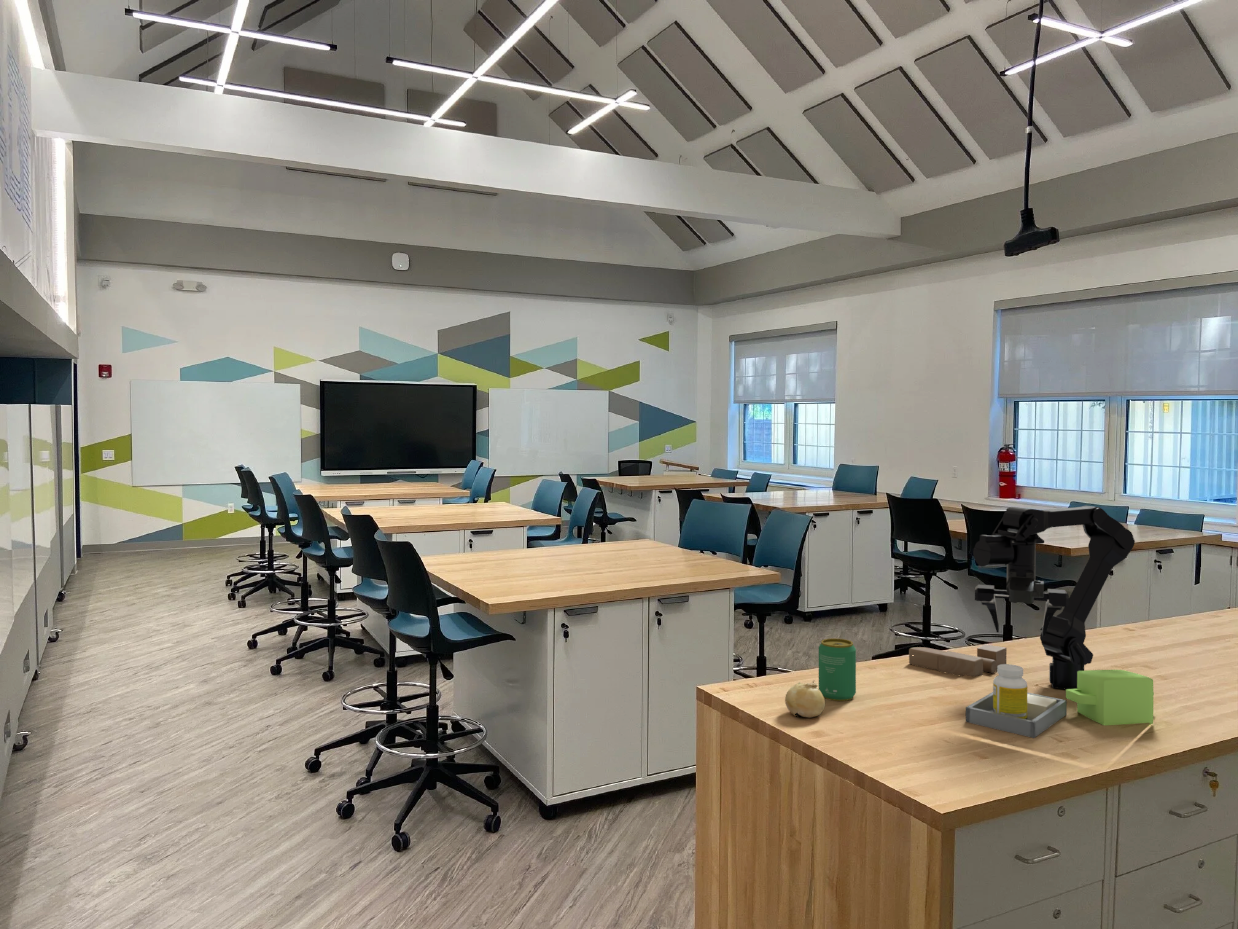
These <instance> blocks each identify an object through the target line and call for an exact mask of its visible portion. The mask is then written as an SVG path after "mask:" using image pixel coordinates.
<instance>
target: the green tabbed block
mask: <svg viewBox="0 0 1238 929" xmlns="http://www.w3.org/2000/svg"><path fill="white" fill-rule="evenodd" d="M1065 699H1067V700H1069V701H1072V702H1074V703H1076V706H1077V707H1076V708H1077V711H1076V712H1077V713H1079V714H1080V715H1082V716H1084V717H1086V718H1088V719H1089V720H1092V721H1093V722H1096V723H1098V724H1100V725H1102V726H1117V725H1119V726H1120V725H1134V724H1136V725H1137V724H1149V725H1153V724H1154V679H1153V678H1151V677H1150V676H1147V675H1143V674H1139V673H1136V672H1133V671H1129V670H1125V669H1090V670H1089V669H1088V670H1084V671H1078V672H1077V689H1065Z"/></svg>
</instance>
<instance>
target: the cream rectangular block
mask: <svg viewBox="0 0 1238 929" xmlns="http://www.w3.org/2000/svg"><path fill="white" fill-rule="evenodd" d="M1055 704H1057V700H1055V699H1050V698H1046V697H1041V696H1036V695H1031V694H1027V718H1031V719H1035V718H1036V717H1038V716H1039V715H1040V714H1042V713H1043V712H1045V711H1046V710H1048V709H1049V708H1051V707H1052V706H1054V705H1055Z"/></svg>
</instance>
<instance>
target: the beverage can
mask: <svg viewBox="0 0 1238 929" xmlns="http://www.w3.org/2000/svg"><path fill="white" fill-rule="evenodd" d="M820 642H821V643H820V644H819V646H818V689H819V690H820V692H821V693H822V695H823V697H824V699H825V698H826V699H825V700H828V699H830V700H829V701H837V702H846V701H847V702H848V701H850V700H853V699H854V698H855V695H856V694H857V685H856V684H857V648H856V647H855V645H854V642H853V641H852V640H849V639H845V638H825V639H822V640H821V641H820ZM853 697H854V698H853Z"/></svg>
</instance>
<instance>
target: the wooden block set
mask: <svg viewBox="0 0 1238 929" xmlns="http://www.w3.org/2000/svg"><path fill="white" fill-rule="evenodd" d="M1007 649H1008V648H1007V647H1004V646H998V645H993V644H992V645H991V644H986V643H984V644H983V645H981V646H979V647H976V655H970V654H966V653H961V652H955V651H952V650H947V651H945V650H940V649H936V648H935V649H934V648H930V647H927V646H926V647H925V646H924V647H921V646H919V647H918V646H917V647H910V648H909V649H908V664H909V665H911V664H913V665H912V666H915V665H916V667H920V668H924V667H925V668H926V669H929V670H933V669H935V670H934V671H938V672H940V671H941V673H944V672H946V673H945V674H949V675H953V674H954V676H958V675H960V676H959V677H964V676H970V677H977V676H982V675H983V676H984V673H988V672H989V674H994V672H995V673H996V672H997V666H998V665H1001V664H1007ZM912 655H914V656H912ZM925 668H924V669H925Z"/></svg>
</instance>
